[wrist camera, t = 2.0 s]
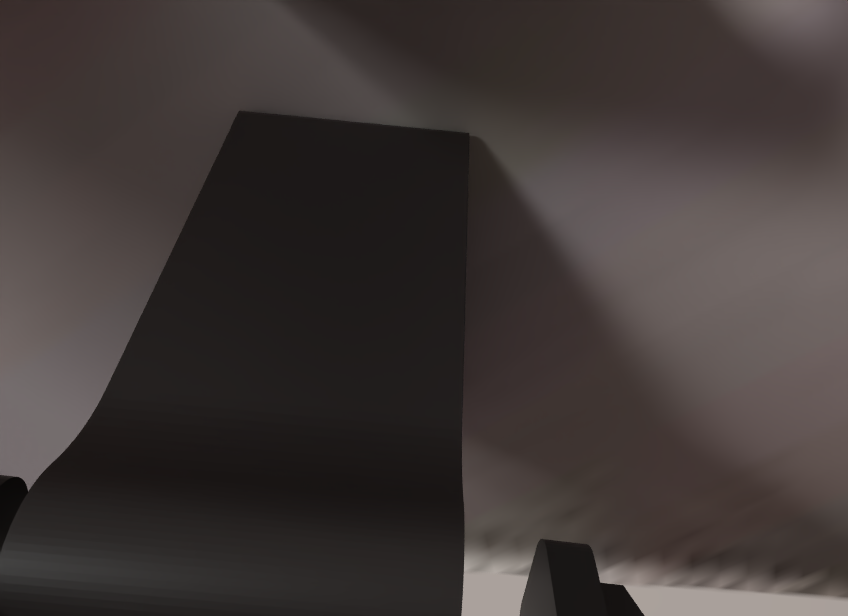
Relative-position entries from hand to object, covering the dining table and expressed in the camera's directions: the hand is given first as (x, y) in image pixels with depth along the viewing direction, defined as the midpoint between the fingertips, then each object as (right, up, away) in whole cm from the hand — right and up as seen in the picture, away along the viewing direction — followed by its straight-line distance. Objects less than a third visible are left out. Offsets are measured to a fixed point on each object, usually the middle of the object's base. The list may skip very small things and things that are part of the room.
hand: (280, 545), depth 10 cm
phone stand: (0, +5, +9) cm, 10 cm away
